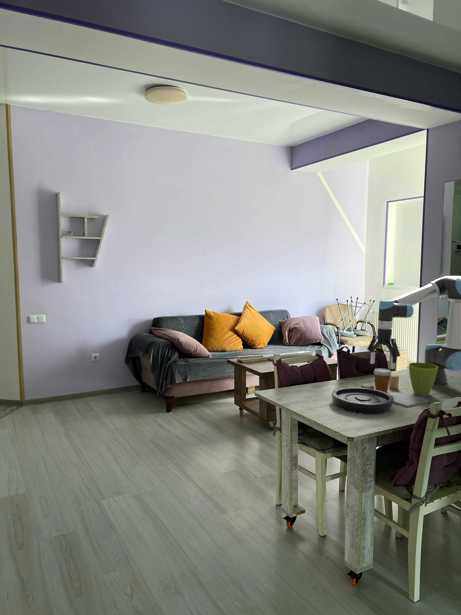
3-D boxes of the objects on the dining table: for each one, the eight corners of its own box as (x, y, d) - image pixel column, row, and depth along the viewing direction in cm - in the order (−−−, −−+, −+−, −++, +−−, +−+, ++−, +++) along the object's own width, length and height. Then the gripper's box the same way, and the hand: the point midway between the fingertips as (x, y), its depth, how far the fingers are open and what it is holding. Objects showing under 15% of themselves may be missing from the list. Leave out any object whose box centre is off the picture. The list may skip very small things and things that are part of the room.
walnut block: (365, 392, 263) (365, 383, 262) (373, 394, 259) (374, 385, 259) (360, 394, 259) (360, 385, 259) (368, 396, 256) (369, 387, 255)
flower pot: (439, 399, 253) (441, 369, 251) (409, 396, 256) (411, 367, 254) (433, 391, 268) (434, 363, 266) (405, 389, 270) (406, 361, 269)
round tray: (368, 395, 258) (320, 400, 248) (368, 384, 258) (320, 388, 247) (406, 412, 231) (354, 418, 220) (407, 400, 230) (355, 406, 219)
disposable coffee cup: (392, 390, 267) (393, 369, 266) (387, 394, 259) (389, 373, 258) (375, 388, 272) (376, 367, 271) (370, 391, 264) (371, 370, 263)
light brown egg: (392, 386, 277) (393, 374, 276) (400, 388, 273) (400, 376, 272) (387, 387, 274) (387, 375, 273) (394, 389, 270) (395, 377, 269)
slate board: (402, 394, 260) (402, 392, 260) (428, 402, 247) (428, 400, 247) (380, 399, 250) (380, 397, 250) (407, 407, 237) (407, 405, 237)
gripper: (362, 325, 270) (360, 362, 272) (399, 331, 250) (396, 371, 252) (371, 324, 274) (368, 361, 277) (408, 331, 254) (405, 370, 256)
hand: (382, 366), depth 264 cm, fingers open, 13 cm apart
